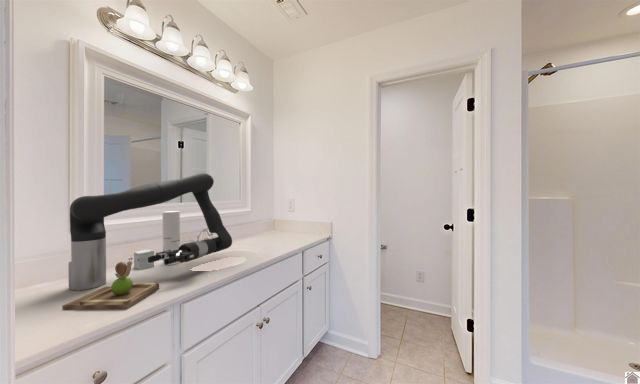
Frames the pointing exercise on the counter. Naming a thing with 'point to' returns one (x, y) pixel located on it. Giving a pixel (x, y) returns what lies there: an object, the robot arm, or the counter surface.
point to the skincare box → (143, 259)
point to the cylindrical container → (171, 231)
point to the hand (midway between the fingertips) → (156, 261)
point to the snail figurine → (122, 278)
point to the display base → (113, 297)
